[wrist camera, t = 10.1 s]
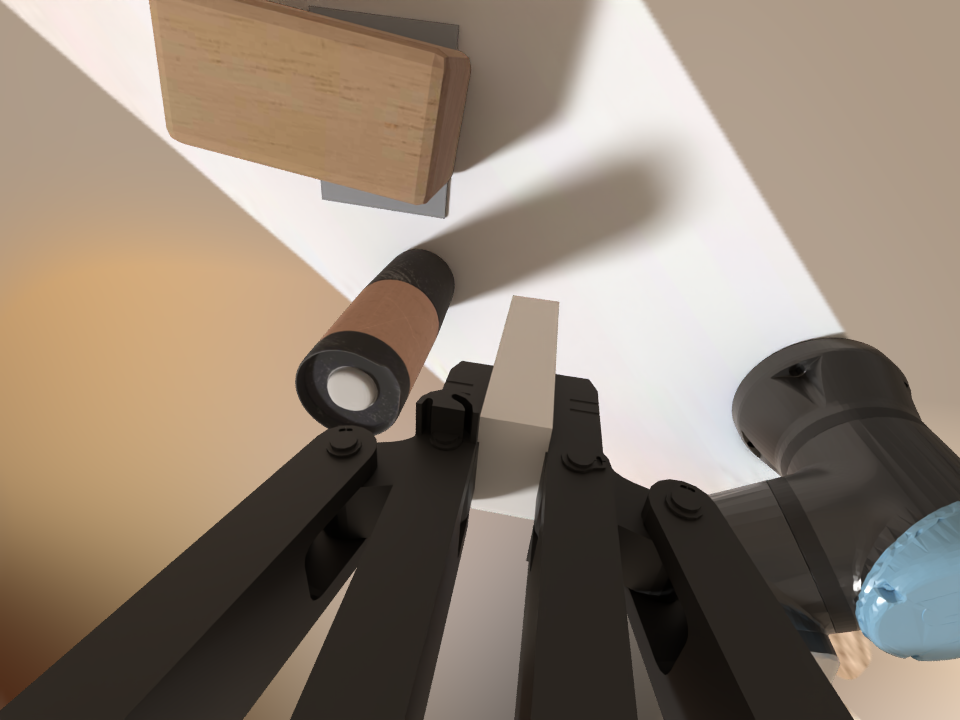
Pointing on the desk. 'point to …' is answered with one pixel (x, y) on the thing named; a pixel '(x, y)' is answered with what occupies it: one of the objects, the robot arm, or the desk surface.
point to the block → (311, 94)
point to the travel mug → (377, 345)
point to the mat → (412, 29)
